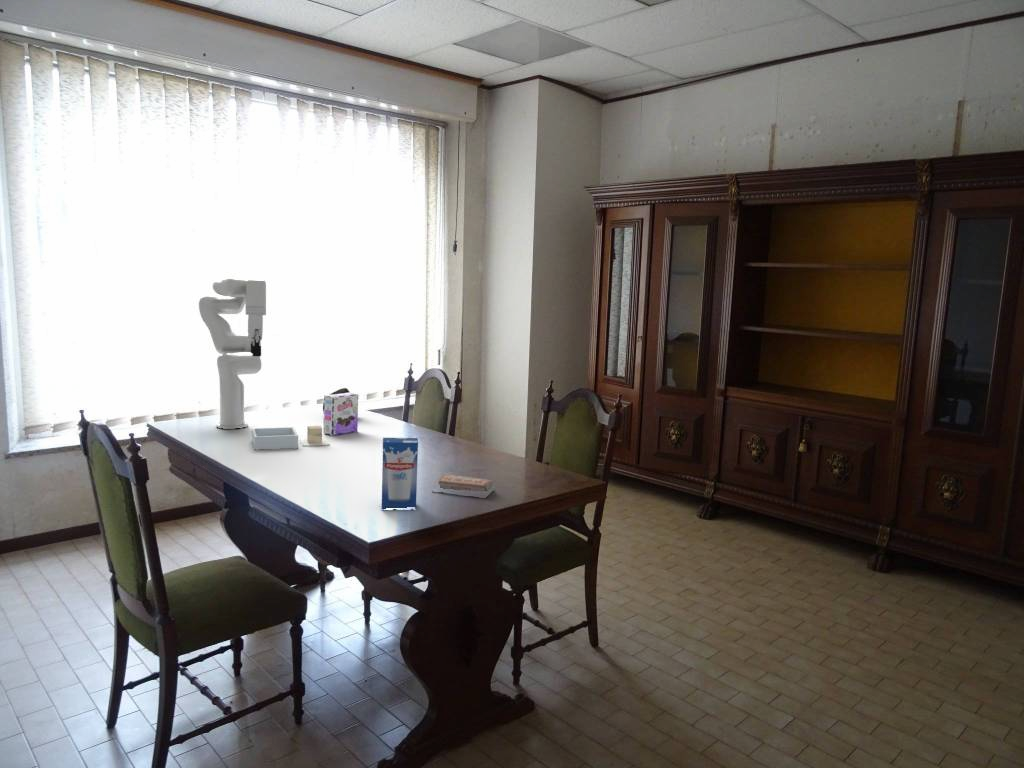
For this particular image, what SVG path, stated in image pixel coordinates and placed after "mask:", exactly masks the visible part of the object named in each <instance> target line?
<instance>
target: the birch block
mask: <svg viewBox="0 0 1024 768" xmlns="http://www.w3.org/2000/svg"><path fill="white" fill-rule="evenodd" d="M306 431H307V432H306V433H307V434H306V435H307V439H306V440H307V441H308V443H309V444H313V443H322V439H323V427H322V426H321V425H307V430H306Z"/></svg>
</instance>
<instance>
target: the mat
mask: <svg viewBox="0 0 1024 768" xmlns="http://www.w3.org/2000/svg"><path fill="white" fill-rule="evenodd" d="M299 441H301V442H300V443H301V445H302V447H317V446H316V445H325V446H330V442H329V441H328V439H327V438H322V443H313V444H309V443H308V441H307V439H299Z"/></svg>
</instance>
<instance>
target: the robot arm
mask: <svg viewBox="0 0 1024 768" xmlns="http://www.w3.org/2000/svg"><path fill="white" fill-rule="evenodd" d="M212 288H213V291H214V292H215V293H214V294H213V293H211V294H206V295H203V296H201V297H200V299H199V301H198V310H199V314H200V315H199V316H200V317H201V320H202V321H203V322H204V324H205V326H206V327H207V328H208V331H209V333H210V337H211V339H212V340H211V341H212V343H213V346H214V348H215V350H216V352H217V353H219V356H218V357H217V359H216V365H217V370H218V377H219V422H217V423H216V424H215V426H216V428H217V427H218V428H217V429H221V428H223V430H236V429H235V428H240V429H244V428H243V427H245V428H247V427H249V423H248V422H247V421H245V386H244V383H243V381H242V380H241V379H240V377H239V376H240V375H253V374H258V373H259V372H260V371H261V369H262V359H261V356H262V344H261V343H262V342H261V341H263V332H264V330H263V329H264V328H263V327H264V326H263V325H264V323H263V322H264V316H266V315H267V282H266V281H265V280H264V279H263V278H262V279H261V278H257V277H256V278H255V277H245V276H244V277H243V276H236V275H235V276H234V275H233V276H232V275H228V276H227V275H222V276H218V277H217V278H215V280H214V281H213V282H212ZM244 308H245V315H247V316H248V317H247V332H245V331H238V332H237V331H233V330H232V328H231V325H230V323H229V322H228V321H227V320H226V319H225V318H224V317H223V316H221V315H238V314H241V313H242V311H243V310H244Z"/></svg>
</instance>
